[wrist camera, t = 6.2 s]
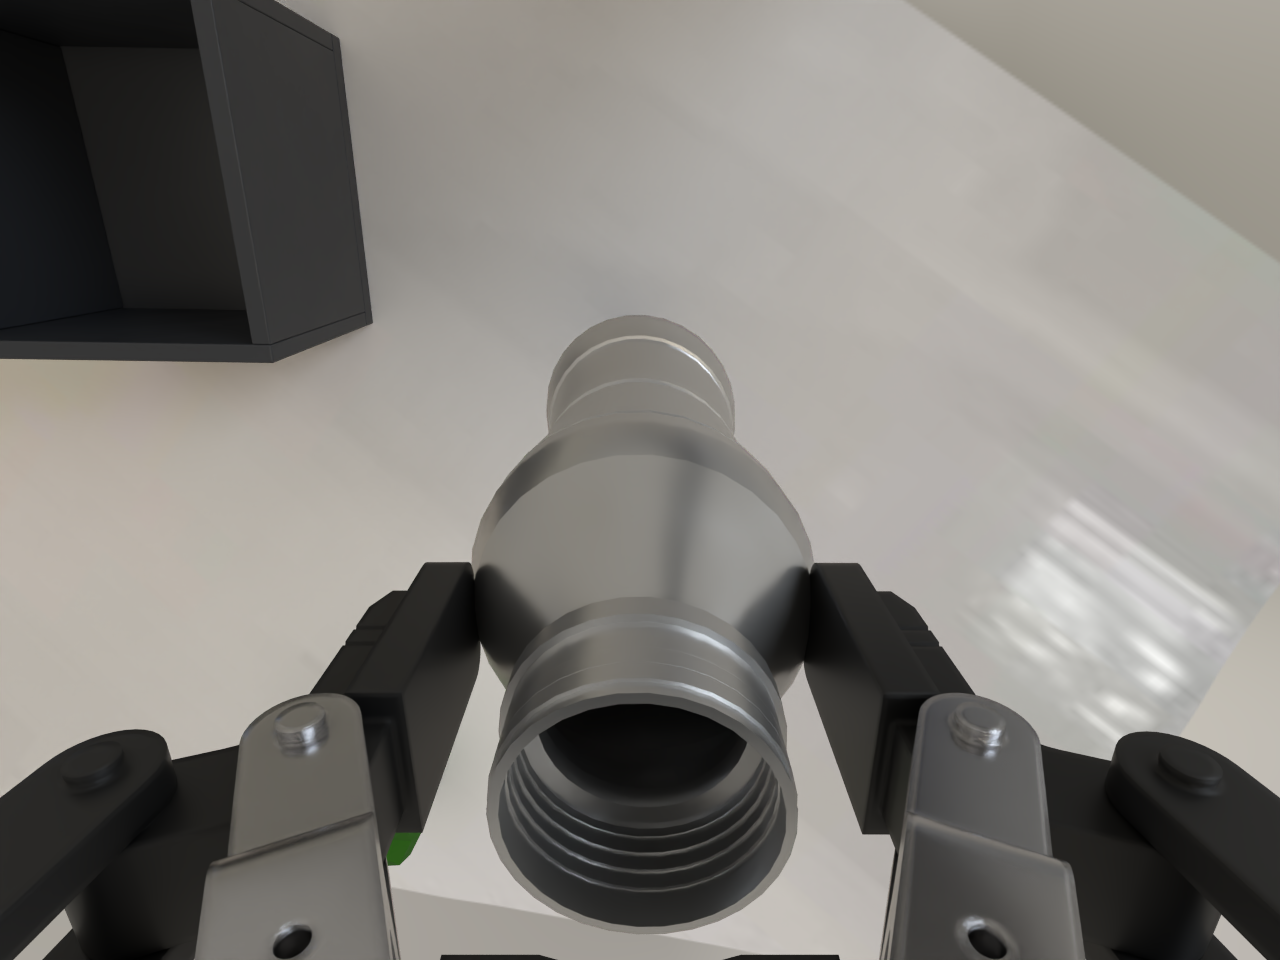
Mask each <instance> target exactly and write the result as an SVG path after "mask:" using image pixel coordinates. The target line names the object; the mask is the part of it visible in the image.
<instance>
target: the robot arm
mask: <svg viewBox="0 0 1280 960" xmlns="http://www.w3.org/2000/svg"><path fill="white" fill-rule="evenodd" d="M474 583H475V580H474V572H473V568H472V565H471V564H470V563H469V562H426V563H425V564H424V565H423V566H422V568H421V569H420V571H419V573H418V574H417V576H416V578H415V579H414V581H413V582H412V584H411V586H410V587H409V589H408V591H392V592H390V593H389V594H387V595H386V596H384V597H383V598H382V599H380V600H379V601H377V602H376V603H374V604H373V605H371V606H370V607H369V608H368V610H367V611H366V613H365V614H364V615H363V617H362V618H361V620H360V621H359V623H358V624H357V626H356V630H353V631H352V633H351V634H350V636H349V637H348V639H347V640H346V644H345V646H342V647H341V649H340V650H339V652H338V653H337V655H336V656H335V658H334V659H333V660H332V662H331V663H330V665H329V666H328V668H327V669H326V671H325V672H324V674H323V675H322V676H321V678H320V679H319V681H318V682H317V684H316V685H315V687H314V688H313V690H312V691H311V692H310V694H308V695H303V696H299V697H296V698H293V699H290V700H287V701H285V702H282V703H280V704H278V705H276V706H274V707H272V708H270V709H269V710H267V711H266V712H264V713H263V714H261V715H260V716H259V717H257V718H256V719H255V720H254V721H253V722H252V723H251V724H250V725H249V726H248V728H247V729H246V730H245V732H244V733H243V735H242V737H241V740H240V744H239V745H237V746H233V747H229V748H225V749H221V750H216V751H212V752H207V753H202V754H198V755H193V756H189V757H184V758H179V759H175V760H171V756H170V753H169V750H168V746H167V743H166V741H165V740H164V738H163V737H162V736H161V735H159V734H157V733H155V732H153V731H148V730H138V729H134V730H123V731H117V732H112V733H108V734H104V735H101V736H98V737H95V738H92V739H89V740H86V741H84V742H82V743H79V744H77V745H75V746H73V747H71V748H69V749H67V750H65V751H63V752H62V753H60V754H58V755H57V756H55V757H54V758H52V759H51V760H49V761H48V762H46V763H45V764H44V765H42V766H41V767H40V768H38V769H37V770H36V771H35V772H33V773H32V774H31V775H29V776H28V777H27V778H25V779H24V780H23V781H22V782H20V783H19V784H18V785H16V786H15V787H14V788H12V789H11V790H10V791H9V792H7V793H6V794H5V795H3V796H2V797H1V798H0V960H13V959H14V958H15V957H16V956H17V955H18V954H19V953H20V952H21V951H22V950H23V949H24V948H25V947H26V946H27V945H28V944H29V943H30V942H31V941H32V940H33V939H34V938H35V937H36V936H37V935H38V934H39V933H40V932H41V931H42V930H43V929H44V928H45V927H46V926H47V925H48V924H49V923H50V922H51V921H52V920H53V919H54V918H55V917H56V916H57V915H58V914H59V913H60V912H61V911H62V910H63V909H64V908H65V911H66V913H67V916H68V918H69V920H70V923H71V925H72V929H71V931H70V932H69V933H68V934H67V935H66V936H65V937H64V938H63V939H62V940H61V941H60V942H59V943H58V944H57V945H56V946H55V947H54V948H53V949H52V950H51V951H50V952H49V953H48V954H47V956H46V957H45V958H44V959H43V960H194V959H195V960H401V955H400V948H399V941H398V934H397V927H396V919H395V912H394V905H393V898H392V891H391V884H390V876H389V870H388V864H387V858H386V855H387V853H388V850H389V848H390V845H391V843H392V840H393V838H394V835H395V833H422V832H423V829H424V826H425V824H426V821H427V818H428V815H429V812H430V809H431V806H432V804H433V801H434V798H435V795H436V792H437V789H438V787H439V784H440V781H441V778H442V775H443V772H444V769H445V767H446V764H447V761H448V758H449V755H450V752H451V750H452V747H453V744H454V741H455V738H456V735H457V732H458V730H459V727H460V724H461V721H462V718H463V715H464V713H465V710H466V707H467V704H468V701H469V698H470V695H471V693H472V690H473V687H474V684H475V681H476V678H477V675H478V670H479V663H480V639H479V636H478V629H477V622H476V614H475V600H474ZM810 598H811V607H810V621H809V635H808V641H807V646H806V652H805V657H804V668H805V674H806V678H807V681H808V684H809V686H810V689H811V692H812V695H813V697H814V700H815V703H816V706H817V709H818V711H819V714H820V717H821V720H822V723H823V725H824V728H825V731H826V734H827V737H828V739H829V742H830V745H831V748H832V751H833V753H834V756H835V759H836V762H837V765H838V767H839V770H840V773H841V776H842V778H843V781H844V784H845V787H846V790H847V792H848V795H849V798H850V801H851V804H852V806H853V809H854V812H855V815H856V818H857V820H858V823H859V826H860V829H861V832H862V834H890V836H891V839H892V841H893V844H894V846H895V852H894V858H893V864H892V870H891V876H890V884H889V891H888V898H887V905H886V912H885V919H884V926H883V933H882V941H881V948H880V955H879V960H1085V959H1086V960H1237V959H1236V958H1235V957H1234V956H1233V954H1232V953H1231V952H1230V951H1229V950H1228V949H1227V948H1226V947H1225V946H1224V945H1223V944H1222V943H1221V942H1220V941H1219V940H1218V939H1217V938H1216V937H1215V936H1214V935H1213V933H1214V931H1215V928H1216V926H1217V923H1218V921H1219V919H1220V916H1221V914H1222V915H1223V916H1224V917H1225V918H1226V919H1227V920H1228V921H1229V922H1230V923H1231V924H1232V925H1233V926H1234V927H1235V928H1236V929H1237V930H1238V931H1239V932H1240V933H1241V934H1242V935H1243V936H1244V937H1245V938H1246V939H1247V940H1248V941H1249V942H1250V943H1251V944H1252V945H1253V946H1254V947H1255V948H1256V949H1257V950H1258V951H1259V952H1260V953H1261V954H1262V955H1263V956H1264V957H1265V958H1266V959H1267V960H1280V798H1279V797H1278V796H1277V795H1275V794H1274V793H1273V792H1271V791H1270V790H1269V789H1268V788H1266V787H1265V786H1264V785H1262V784H1261V783H1260V782H1258V781H1257V780H1256V779H1255V778H1253V777H1252V776H1251V775H1249V774H1248V773H1247V772H1245V771H1244V770H1243V769H1241V768H1240V767H1239V766H1238V765H1236V764H1235V763H1233V762H1232V761H1230V760H1229V759H1227V758H1226V757H1224V756H1222V755H1221V754H1219V753H1217V752H1215V751H1213V750H1211V749H1209V748H1207V747H1205V746H1203V745H1201V744H1198V743H1196V742H1193V741H1191V740H1188V739H1185V738H1182V737H1178V736H1174V735H1170V734H1165V733H1159V732H1135V733H1130V734H1128V735H1125V736H1123V737H1122V738H1121V739H1120V740H1119V741H1118V743H1117V744H1116V747H1115V750H1114V754H1113V757H1112V760H1111V761H1109V760H1104V759H1099V758H1095V757H1090V756H1086V755H1081V754H1076V753H1072V752H1067V751H1063V750H1058V749H1054V748H1051V747H1047V746H1044V745H1041V744H1040V740H1039V737H1038V735H1037V733H1036V732H1035V730H1034V729H1033V728H1032V726H1031V725H1030V724H1029V723H1028V722H1027V721H1026V720H1025V719H1024V718H1023V717H1021V716H1020V715H1019V714H1017V713H1016V712H1014V711H1013V710H1011V709H1009V708H1008V707H1006V706H1004V705H1002V704H1000V703H998V702H995V701H993V700H990V699H987V698H984V697H981V696H977V695H975V693H974V692H973V691H972V689H971V688H970V686H969V685H968V683H967V682H966V681H965V679H964V678H963V676H962V675H961V673H960V672H959V671H958V669H957V668H956V666H955V665H954V663H953V662H952V660H951V659H950V658H949V656H948V655H947V653H946V652H945V650H944V649H943V648H942V647H939V642H938V640H937V639H936V638H935V636H934V635H933V633H932V632H931V631H928V626H927V625H926V623H925V622H924V620H923V619H922V617H921V616H920V615H919V613H918V612H917V610H916V609H915V608H914V607H913V606H911V605H910V604H909V603H907V602H906V601H904V600H903V599H901V598H900V597H898V596H897V595H895V594H894V593H893V592H891V591H876V590H875V588H874V586H873V585H872V583H871V582H870V580H869V578H868V577H867V575H866V574H865V572H864V570H863V569H862V567H861V566H860V564H858V563H814V564H813V565H812V567H811V571H810ZM440 960H556V959H552V958H548V957H545V956H541V955H441V959H440ZM724 960H840V959H839V955H739V956H735V957H731V958H728V959H724Z"/></svg>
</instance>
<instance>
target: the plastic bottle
mask: <svg viewBox="0 0 1280 960" xmlns="http://www.w3.org/2000/svg"><path fill="white" fill-rule="evenodd" d="M547 423H548V432H549V434H548V435H547V436H546V437H545V438H544V439H543V440H542V441H541V442H540V443H538V444H537V445H536V446H535V447H534V448H533V449H532V450H531V451H530V452H528V453H527V454H526V456H525V457H524V458H523V459H522V460H521V461H520V462H519V463H518V465H517V466H516V467H515V468H514V469H513V470H512V471H511V472H510V474H509V475H508V476H507V477H506V479H505V480H504V482H503V483H502V485H501V486H500V487H499V489H498V490H497V491H496V493H495V495H494V497H493V499H492V500H491V502H490V504H489V506H488V508H487V509H486V511H485V513H484V515H483V517H482V519H481V521H480V525H479V528H478V532H477V535H476V538H475V542H474V545H473V549H472V564H471V565H472V568H473V572H474V580H475V583H474V600H475V614H476V622H477V629H478V636H479V639H480V642H481V644H482V647H483V649H484V652H485V654H486V657H487V659H488V662H489V664H490V666H491V667H492V669H493V670H494V672H495V673H496V675H497V676H498V678H499V680H500V681H501V683H502V684H503V686H504V687H505V689H506V691H505V695H504V698H503V701H502V705H501V708H500V721H499V737H500V740H499V743H498V747H497V750H496V753H495V757H494V761H493V764H492V767H491V770H490V774H489V780H488V793H487V812H486V815H487V820H488V826H489V831H490V837H491V840H492V842H493V844H494V846H495V849H496V851H497V853H498V855H499V858H500V860H501V861H502V863H503V864H504V865H505V867H506V868H507V870H508V871H509V872H510V874H511V875H512V876H513V878H514V879H515V880H516V881H517V882H518V883H519V884H520V885H521V886H522V887H523V888H524V889H525V890H526V891H528V892H529V893H530V894H531V895H532V896H533V897H534V898H536V899H537V900H539V901H540V902H542V903H543V904H545V905H546V906H548V907H549V908H551V909H553V910H554V911H556V912H557V913H560V914H562V915H564V916H567V917H569V918H571V919H573V920H576V921H578V922H580V923H583V924H586V925H590V926H594V927H597V928H601V929H605V930H608V931H616V932H624V933H632V934H667V933H673V932H679V931H685V930H692V929H695V928H698V927H702V926H705V925H708V924H711V923H714V922H717V921H720V920H722V919H724V918H726V917H728V916H730V915H732V914H734V913H736V912H738V911H740V910H742V909H743V908H744V907H746V906H747V905H748V904H750V903H751V902H752V901H754V900H755V899H756V898H758V897H759V896H760V895H762V894H763V893H764V892H765V890H766V889H767V888H768V887H769V886H770V885H771V884H772V883H773V882H774V881H775V879H776V878H777V877H778V876H779V874H780V873H781V871H782V869H783V867H784V866H785V864H786V862H787V860H788V859H789V857H790V855H791V852H792V848H793V845H794V841H795V838H796V834H797V818H798V808H797V791H796V786H795V782H794V777H793V773H792V769H791V765H790V762H789V758H788V755H787V750H786V745H787V725H786V720H785V715H784V711H783V706H782V702H781V697H782V696H783V695H784V694H785V692H786V691H787V690H788V689H789V687H790V686H791V685H792V684H793V682H794V680H795V678H796V676H797V674H798V672H799V670H800V668H801V666H802V664H803V662H804V657H805V652H806V646H807V641H808V635H809V621H810V607H811V598H810V571H811V567H812V565H813V564H814V559H813V554H812V548H811V543H810V540H809V538H808V536H807V533H806V531H805V529H804V526H803V524H802V521H801V519H800V517H799V514H798V512H797V511H796V509H795V508H794V507H793V505H792V504H791V502H790V501H789V499H788V498H787V497H786V495H785V494H784V492H783V491H782V489H781V488H780V487H779V485H778V484H777V483H776V481H775V480H774V478H773V477H772V476H771V474H770V473H769V471H768V470H767V469H766V468H765V467H764V466H763V465H762V464H761V463H760V462H759V461H758V460H757V459H755V458H754V457H753V456H752V455H751V454H750V453H749V452H748V451H747V450H746V449H745V448H744V447H742V446H741V445H740V444H739V443H738V442H737V441H736V439H735V437H734V432H735V409H734V397H733V393H732V388H731V383H730V381H729V378H728V376H727V374H726V371H725V369H724V367H723V365H722V363H721V362H720V361H719V359H718V358H717V356H716V355H715V353H714V352H713V350H712V349H711V348H710V347H709V346H708V345H707V344H706V343H705V342H704V341H703V340H702V339H701V338H700V337H698V336H697V335H695V334H694V333H692V332H691V331H689V330H688V329H686V328H685V327H683V326H681V325H679V324H676V323H674V322H671V321H669V320H666V319H663V318H658V317H652V316H647V315H629V316H622V317H617V318H613V319H609V320H606V321H604V322H601V323H599V324H597V325H595V326H593V327H591V328H589V329H588V330H586V331H585V332H584V333H582V334H581V335H580V336H578V337H577V338H576V339H575V340H574V341H573V342H572V343H571V344H570V345H569V347H568V348H567V349H566V350H565V351H564V352H563V354H562V355H561V357H560V359H559V361H558V363H557V365H556V366H555V368H554V370H553V374H552V377H551V380H550V384H549V387H548V397H547Z"/></svg>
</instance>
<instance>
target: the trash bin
mask: <svg viewBox="0 0 1280 960" xmlns="http://www.w3.org/2000/svg"><path fill="white" fill-rule="evenodd" d="M372 323H373V322H372V313H371V305H370V296H369V288H368V279H367V271H366V263H365V254H364V246H363V237H362V229H361V220H360V212H359V204H358V195H357V187H356V178H355V170H354V161H353V153H352V144H351V136H350V128H349V119H348V111H347V102H346V94H345V85H344V77H343V69H342V60H341V52H340V43H339V38H338V37H336V36H334V35H333V34H331V33H329V32H327V31H325V30H324V29H322V28H320V27H319V26H317V25H315V24H313V23H312V22H310V21H308V20H307V19H305V18H303V17H302V16H300V15H298V14H297V13H295V12H293V11H291V10H290V9H288V8H286V7H285V6H283V5H281V4H280V3H278V2H276V1H275V0H0V359H52V360H117V361H182V362H247V363H274V362H276V361H279V360H281V359H284V358H286V357H289V356H291V355H294V354H296V353H299V352H301V351H304V350H306V349H309V348H311V347H314V346H316V345H319V344H321V343H324V342H326V341H329V340H331V339H334V338H336V337H339V336H341V335H344V334H346V333H349V332H351V331H354V330H356V329H359V328H361V327H364V326H367V325H369V324H372Z"/></svg>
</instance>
